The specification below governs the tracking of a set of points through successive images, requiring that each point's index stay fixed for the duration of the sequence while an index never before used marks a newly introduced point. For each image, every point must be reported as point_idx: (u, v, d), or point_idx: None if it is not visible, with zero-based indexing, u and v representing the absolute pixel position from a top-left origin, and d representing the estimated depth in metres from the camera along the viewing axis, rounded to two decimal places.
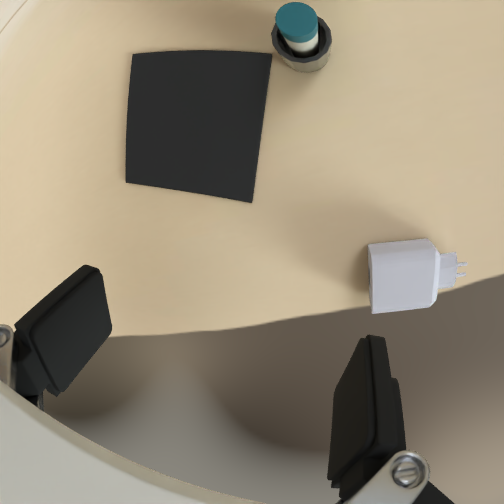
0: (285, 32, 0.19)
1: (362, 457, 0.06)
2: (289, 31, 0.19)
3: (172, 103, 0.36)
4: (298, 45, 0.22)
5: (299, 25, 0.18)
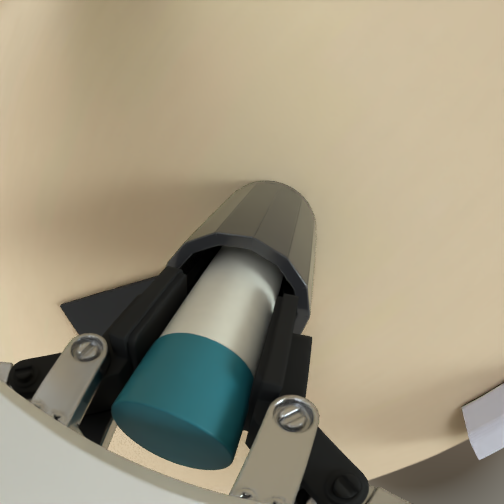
0: (177, 462, 0.07)
1: (257, 399, 0.07)
2: (182, 462, 0.07)
3: None
4: None
5: (190, 454, 0.06)
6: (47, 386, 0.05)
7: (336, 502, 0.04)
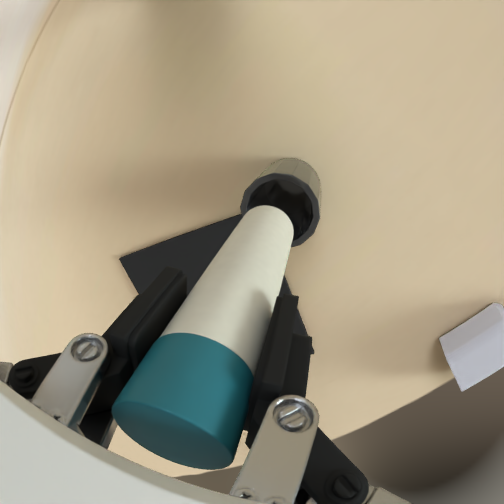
0: (177, 462, 0.07)
1: (256, 399, 0.07)
2: (183, 462, 0.07)
3: None
4: None
5: (191, 454, 0.06)
6: (47, 386, 0.05)
7: (336, 502, 0.04)
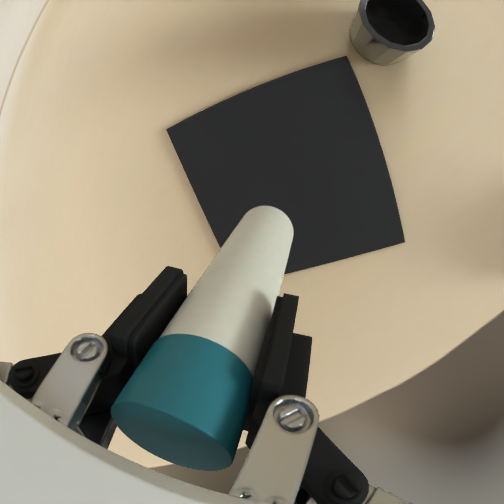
0: (176, 463, 0.07)
1: (257, 399, 0.07)
2: (182, 463, 0.07)
3: (256, 167, 0.30)
4: None
5: (190, 455, 0.06)
6: (47, 386, 0.05)
7: (336, 502, 0.04)
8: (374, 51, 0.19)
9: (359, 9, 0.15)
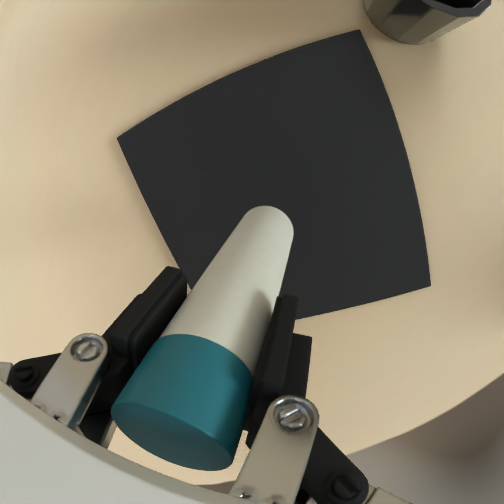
0: (176, 463, 0.07)
1: (257, 399, 0.07)
2: (182, 463, 0.07)
3: (232, 188, 0.22)
4: None
5: (190, 455, 0.06)
6: (47, 386, 0.05)
7: (336, 502, 0.04)
8: (403, 18, 0.11)
9: None
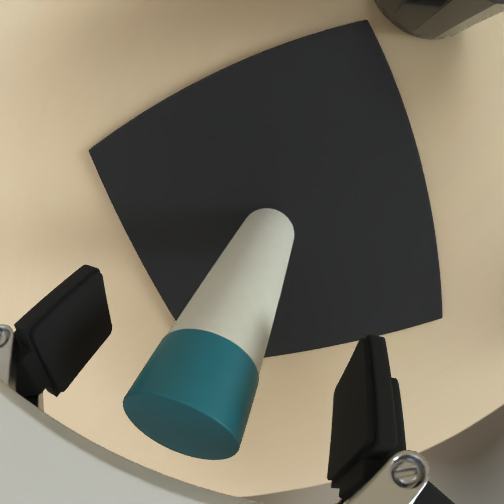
0: (184, 453, 0.07)
1: (362, 457, 0.06)
2: (190, 452, 0.07)
3: (216, 209, 0.19)
4: None
5: (198, 444, 0.07)
6: None
7: None
8: (423, 4, 0.08)
9: None
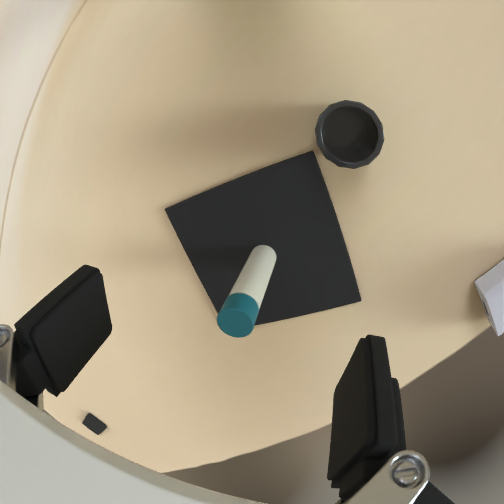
0: (234, 336, 0.27)
1: (362, 457, 0.06)
2: (236, 334, 0.27)
3: (238, 244, 0.38)
4: None
5: (240, 328, 0.26)
6: None
7: None
8: None
9: (316, 131, 0.23)
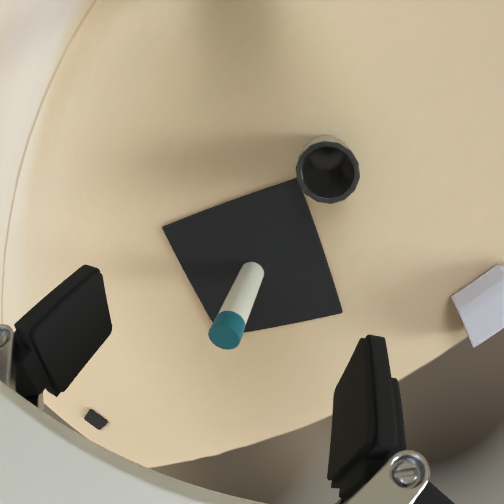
0: (223, 348, 0.31)
1: (362, 457, 0.06)
2: (225, 347, 0.30)
3: (229, 261, 0.42)
4: None
5: (228, 341, 0.30)
6: None
7: None
8: None
9: (296, 169, 0.27)
